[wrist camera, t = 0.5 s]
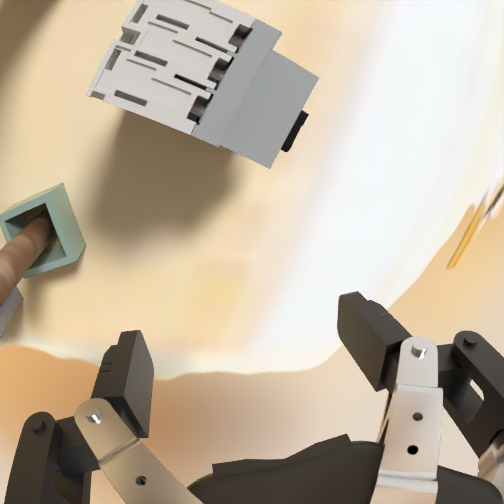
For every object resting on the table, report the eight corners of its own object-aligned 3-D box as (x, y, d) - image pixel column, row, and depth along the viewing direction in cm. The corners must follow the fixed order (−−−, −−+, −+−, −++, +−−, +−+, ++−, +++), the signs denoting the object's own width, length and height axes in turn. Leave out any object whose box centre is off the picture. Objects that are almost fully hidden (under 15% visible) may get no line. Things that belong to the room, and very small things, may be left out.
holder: (13, 205, 26) (-4, 216, 22) (63, 182, 27) (48, 192, 23) (36, 262, 29) (24, 278, 26) (85, 245, 30) (76, 261, 27)
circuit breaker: (254, 156, 31) (312, 193, 18) (128, 103, 25) (81, 94, 12) (286, 96, 28) (367, 89, 15) (162, 38, 23) (149, -23, 10)
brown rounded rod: (32, 216, 27) (-32, 277, 15) (53, 207, 28) (-9, 268, 15) (42, 241, 29) (-13, 311, 16) (63, 233, 29) (10, 304, 17)
